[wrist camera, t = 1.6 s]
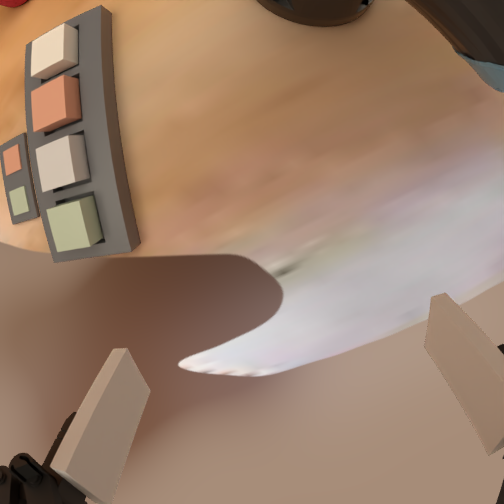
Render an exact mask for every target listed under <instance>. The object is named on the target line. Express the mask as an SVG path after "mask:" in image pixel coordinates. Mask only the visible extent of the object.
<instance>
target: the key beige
mask: <svg viewBox="0 0 504 504" xmlns="http://www.w3.org/2000/svg"><path fill="white" fill-rule="evenodd" d="M36 156H37V163H38V170H39V176H40V181H41V187H42V192H45V191H48V190H52V189H55V188H58V187H61V186H64V185H68V184H71V183H74V182H78V181H81V180H84V179H88V178H90V173H89V167H88V161H87V155H86V148H85V141H84V135H68V136H65V137H63V138H60V139H58V140H55V141H53V142H51V143H48V144H46V145H44V146H41V147H39V148H37V149H36Z"/></svg>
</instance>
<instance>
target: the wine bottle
mask: <svg viewBox="0 0 504 504" xmlns="http://www.w3.org/2000/svg"><path fill="white" fill-rule="evenodd" d="M26 1H27V0H0V5H3V6H7V7H17V6H20V5H22V4H23V3H25V2H26Z"/></svg>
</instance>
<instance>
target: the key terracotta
mask: <svg viewBox="0 0 504 504" xmlns="http://www.w3.org/2000/svg"><path fill="white" fill-rule="evenodd" d="M31 103H32V119H33V131H34V132H50V131H52V130H55V129H57V128H59V127H62V126H64V125H67V124H69V123H71V122H74V121H76V120H79V119H82V115H81V105H80V92H79V79H77V78H74V77H70V76H66V75H62V76H60V77H58V78H56V79H54V80H52V81H50V82H48V83H46V84H44V85H42V86H41V87H39V88H37V89H35V90H33V91H32V92H31Z"/></svg>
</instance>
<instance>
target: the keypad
mask: <svg viewBox="0 0 504 504" xmlns="http://www.w3.org/2000/svg"><path fill="white" fill-rule="evenodd" d="M64 23H65V24H67V25H69V26H71V27H73V28H75V29H77V30H78V64H77V65H75V66H73V67H71V68H69V69H67V70H65V71H63V72H61V73H59V74H57V75H55V76H53V77H51V78H49V79H47V80H46V79H41V78H36V77H31V53H32V41H31V42H30V43H28V44H27V45H26V53H25V110H26V125H27V136H28V145H29V153H30V160H31V167H32V173H33V179H34V185H35V190H36V195H37V200H38V205H39V209H40V213H41V218H42V222H43V226H44V230H45V233H46V237H47V241H48V244H49V248H50V251H51V254H52V258H53V261H54V263H57V262H64V261H71V260H77V259H84V258H91V257H98V256H105V255H112V254H120V253H127V252H132V251H133V250H134V249H135V248H136V247H137V246H138V245H139V244H140V243H141V242H140V238H139V234H138V229H137V225H136V220H135V216H134V211H133V206H132V202H131V197H130V192H129V186H128V181H127V175H126V170H125V164H124V158H123V151H122V145H121V138H120V130H119V123H118V114H117V105H116V95H115V84H114V71H113V54H112V13H111V12H109V11H108V10H107V9H106V8H104V7H103V6H102V5H100V6H98V7H95V8H93V9H91V10H89V11H87V12H84V13H82V14H80V15H78V16H76V17H74V18H72V19H70V20H68V21H66V22H64ZM62 24H63V23H62ZM62 24H61V25H62ZM59 26H60V25H59ZM57 27H58V26H57ZM55 28H56V27H55ZM53 29H54V28H53ZM51 30H52V29H51ZM51 30H50V31H51ZM48 32H49V31H48ZM46 33H47V32H46ZM43 35H44V34H43ZM41 36H42V35H41ZM38 38H39V37H38ZM36 39H37V38H36ZM33 41H34V40H33ZM62 75H66V76H70V77H74V78H77V79H79V92H80V105H81V115H82V119H79V120H76V121H74V122H71V123H69V124H67V125H64V126H62V127H59V128H57V129H55V130H52V131H50V132H34V131H33V119H32V103H31V92H32V91H33V90H35V89H37V88H39V87H41V86H42V85H44V84H46V83H48V82H50V81H52V80H54V79H56V78H58V77H60V76H62ZM68 135H84V141H85V148H86V155H87V161H88V167H89V173H90V178H88V179H84V180H81V181H78V182H74V183H71V184H68V185H64V186H61V187H58V188H55V189H52V190H48V191H45V192H42V187H41V181H40V176H39V170H38V163H37V156H36V149H37V148H39V147H41V146H44V145H46V144H48V143H51V142H53V141H55V140H58V139H60V138H63V137H65V136H68ZM92 195H94V199H95V204H96V208H97V213H98V217H99V221H100V225H101V229H102V233H103V238H102V239H100V240H99V241H98V242H96V243H95V244H93V245H92V246H90V247H85V248H79V249H73V250H67V251H61V252H57V249H56V245H55V242H54V238H53V235H52V231H51V227H50V223H49V219H48V215H47V211H46V210H47V209H49V208H52V207H54V206H57V205H59V204H62V203H65V202H69V201H73V200H76V199H80V198H84V197H88V196H92Z"/></svg>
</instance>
